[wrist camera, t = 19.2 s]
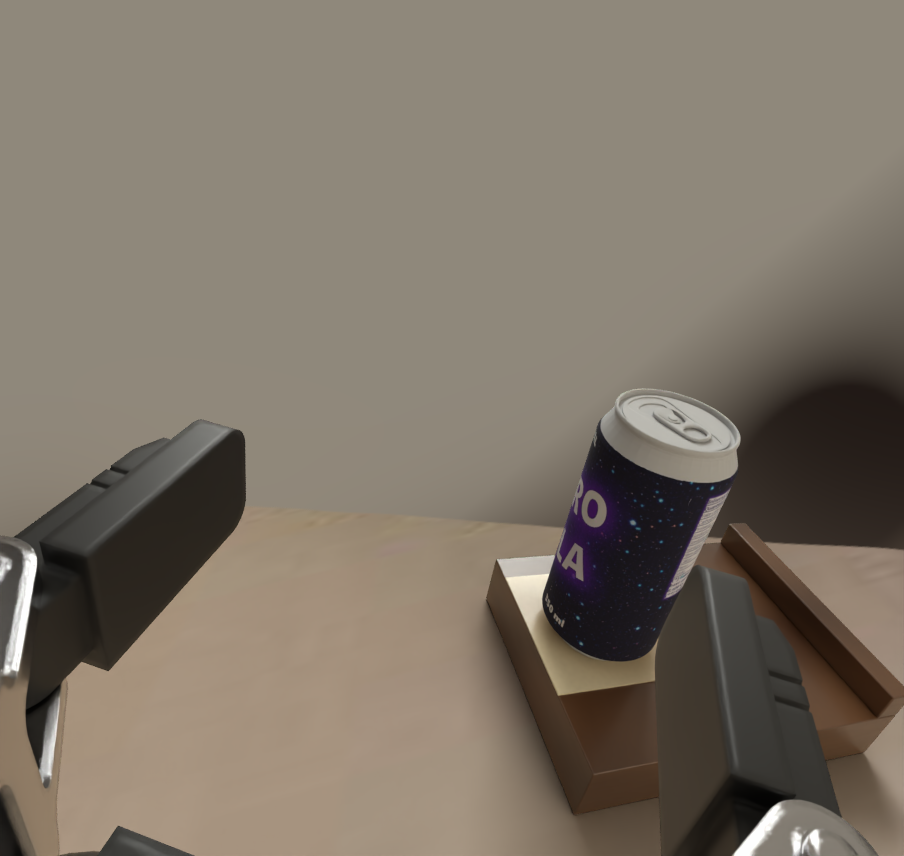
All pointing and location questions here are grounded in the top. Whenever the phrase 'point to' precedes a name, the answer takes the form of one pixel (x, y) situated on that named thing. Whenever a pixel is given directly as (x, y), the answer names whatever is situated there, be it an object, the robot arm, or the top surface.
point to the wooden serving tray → (633, 682)
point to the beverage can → (638, 521)
